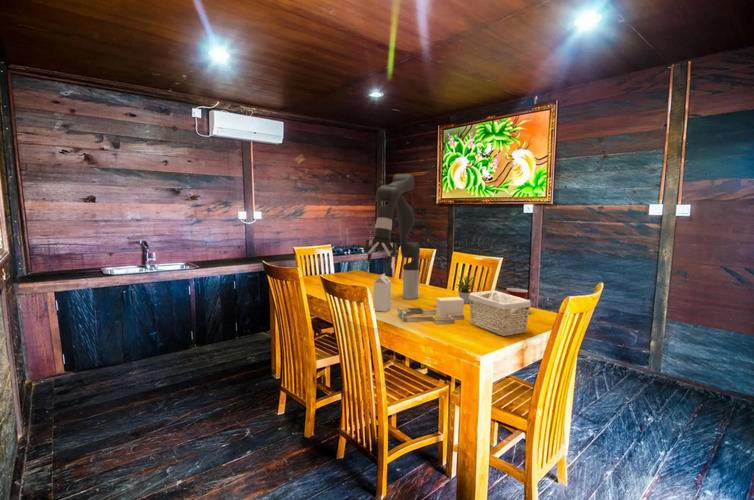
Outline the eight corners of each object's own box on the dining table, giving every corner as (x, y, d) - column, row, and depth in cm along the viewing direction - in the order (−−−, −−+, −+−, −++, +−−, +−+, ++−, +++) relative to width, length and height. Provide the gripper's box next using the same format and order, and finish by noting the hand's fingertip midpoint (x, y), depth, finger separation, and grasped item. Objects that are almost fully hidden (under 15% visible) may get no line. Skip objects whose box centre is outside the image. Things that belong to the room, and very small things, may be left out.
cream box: (436, 315, 196) (436, 297, 195) (458, 314, 198) (459, 297, 197) (440, 318, 190) (440, 300, 189) (463, 317, 192) (463, 299, 191)
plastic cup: (530, 311, 204) (531, 288, 203) (522, 315, 196) (523, 292, 195) (510, 307, 212) (511, 285, 210) (501, 311, 204) (502, 288, 202)
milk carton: (373, 310, 203) (373, 275, 201) (378, 307, 210) (378, 272, 208) (386, 312, 201) (386, 276, 198) (390, 308, 207) (391, 273, 205)
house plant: (483, 301, 224) (484, 273, 222) (475, 306, 213) (476, 277, 211) (459, 298, 232) (460, 271, 230) (450, 303, 220) (451, 274, 218)
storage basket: (466, 322, 184) (467, 292, 182) (493, 318, 190) (494, 289, 189) (502, 338, 162) (503, 304, 160) (531, 333, 169) (532, 300, 167)
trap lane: (395, 312, 201) (395, 304, 201) (450, 309, 207) (450, 302, 206) (407, 325, 178) (407, 317, 178) (468, 322, 184) (468, 314, 183)
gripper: (399, 231, 181) (394, 266, 180) (370, 228, 184) (365, 262, 183) (397, 229, 174) (392, 264, 172) (366, 225, 177) (361, 260, 175)
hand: (378, 263), depth 178 cm, fingers open, 8 cm apart
